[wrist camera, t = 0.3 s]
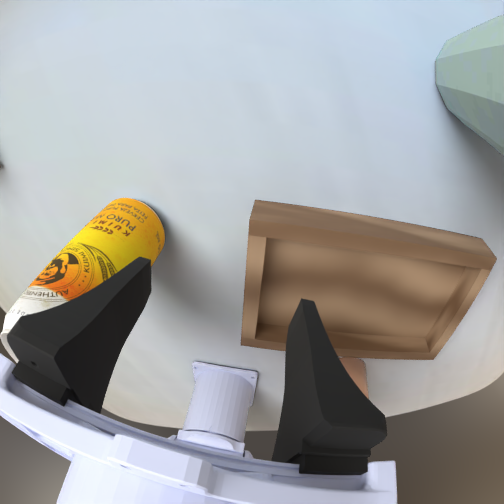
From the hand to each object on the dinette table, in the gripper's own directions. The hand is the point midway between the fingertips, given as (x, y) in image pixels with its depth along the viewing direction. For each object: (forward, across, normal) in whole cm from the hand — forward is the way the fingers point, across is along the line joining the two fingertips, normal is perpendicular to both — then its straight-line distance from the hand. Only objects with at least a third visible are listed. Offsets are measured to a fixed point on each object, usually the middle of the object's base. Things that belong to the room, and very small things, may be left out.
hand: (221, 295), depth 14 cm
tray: (+10, -11, +5) cm, 16 cm away
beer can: (+10, +9, +4) cm, 14 cm away
